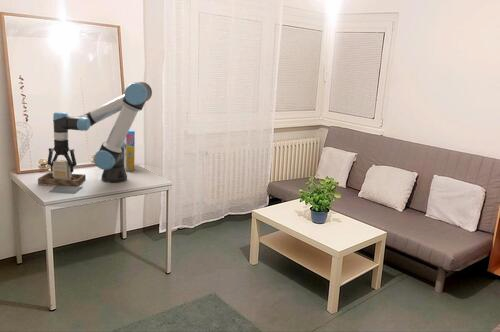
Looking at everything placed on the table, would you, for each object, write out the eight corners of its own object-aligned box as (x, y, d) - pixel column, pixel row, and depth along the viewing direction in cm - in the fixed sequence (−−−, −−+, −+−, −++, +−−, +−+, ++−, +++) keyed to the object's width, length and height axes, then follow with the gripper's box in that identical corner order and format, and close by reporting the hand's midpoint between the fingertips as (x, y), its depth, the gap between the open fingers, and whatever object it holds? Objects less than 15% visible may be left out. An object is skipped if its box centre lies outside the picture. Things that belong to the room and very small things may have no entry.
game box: (134, 171, 286) (134, 131, 280) (126, 171, 283) (126, 131, 277) (126, 164, 303) (126, 126, 297) (118, 164, 300) (118, 126, 294)
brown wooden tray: (85, 180, 258) (85, 174, 257) (77, 186, 244) (77, 180, 243) (48, 178, 256) (48, 172, 255) (38, 184, 243) (37, 178, 242)
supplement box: (71, 181, 252) (70, 160, 249) (67, 184, 248) (66, 162, 244) (58, 180, 253) (57, 159, 250) (53, 182, 248) (52, 160, 245)
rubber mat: (82, 187, 243) (82, 186, 243) (74, 193, 232) (74, 192, 232) (57, 186, 242) (57, 185, 242) (48, 192, 231) (48, 191, 231)
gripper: (82, 139, 249) (83, 176, 254) (44, 136, 247) (46, 174, 252) (77, 141, 241) (78, 179, 246) (39, 139, 240) (40, 177, 245)
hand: (62, 177), depth 249 cm, fingers closed on supplement box, 9 cm apart
